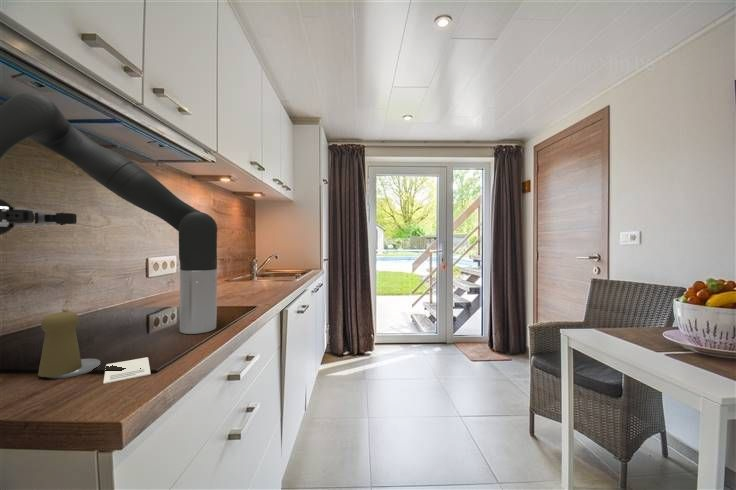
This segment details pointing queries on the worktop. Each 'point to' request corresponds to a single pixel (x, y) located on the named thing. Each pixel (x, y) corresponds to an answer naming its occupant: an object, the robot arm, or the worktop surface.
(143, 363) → the letter
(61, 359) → the cork
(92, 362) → the coaster
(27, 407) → the worktop surface
